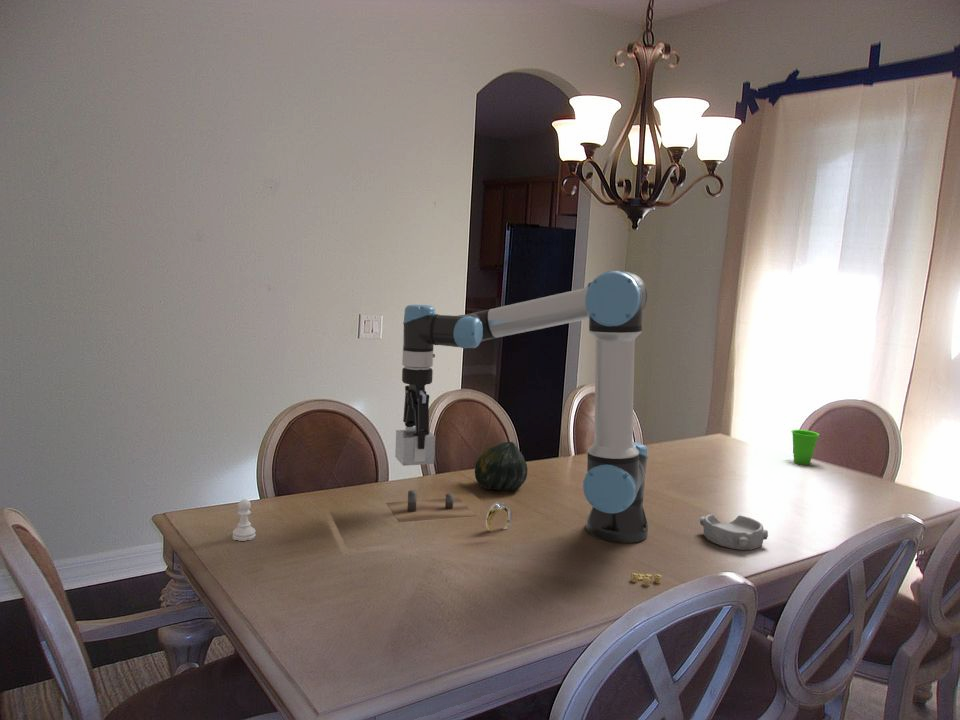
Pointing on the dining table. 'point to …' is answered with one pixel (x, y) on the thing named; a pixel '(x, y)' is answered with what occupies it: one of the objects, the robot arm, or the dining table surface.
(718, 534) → the dish
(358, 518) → the dining table surface
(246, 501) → the chess pawn
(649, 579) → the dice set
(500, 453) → the squash
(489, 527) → the bracelet
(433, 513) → the peg board
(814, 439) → the cup
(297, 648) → the dining table surface
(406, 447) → the white open box
